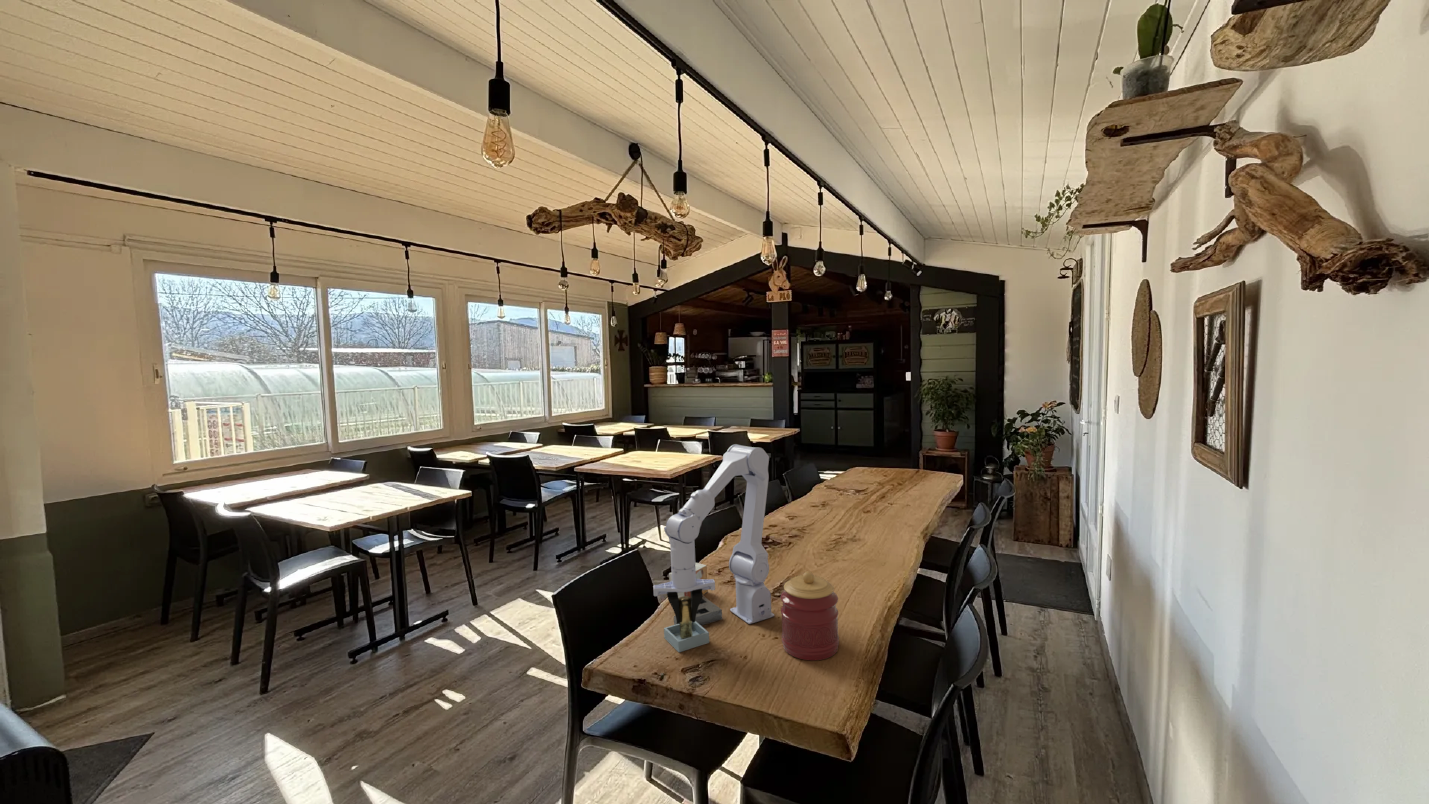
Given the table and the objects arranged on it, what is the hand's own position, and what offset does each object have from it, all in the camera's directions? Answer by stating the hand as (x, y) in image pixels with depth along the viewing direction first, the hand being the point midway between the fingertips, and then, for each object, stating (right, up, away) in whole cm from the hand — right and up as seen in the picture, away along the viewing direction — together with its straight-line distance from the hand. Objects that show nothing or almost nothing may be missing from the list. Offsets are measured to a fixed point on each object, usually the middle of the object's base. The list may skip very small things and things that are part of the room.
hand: (685, 621), depth 133 cm
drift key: (+1, -4, +8) cm, 9 cm away
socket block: (+3, -4, +13) cm, 14 cm away
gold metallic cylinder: (0, -4, 0) cm, 4 cm away
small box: (+3, +2, +29) cm, 29 cm away
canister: (+29, -4, -5) cm, 30 cm away
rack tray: (0, -5, 0) cm, 5 cm away
